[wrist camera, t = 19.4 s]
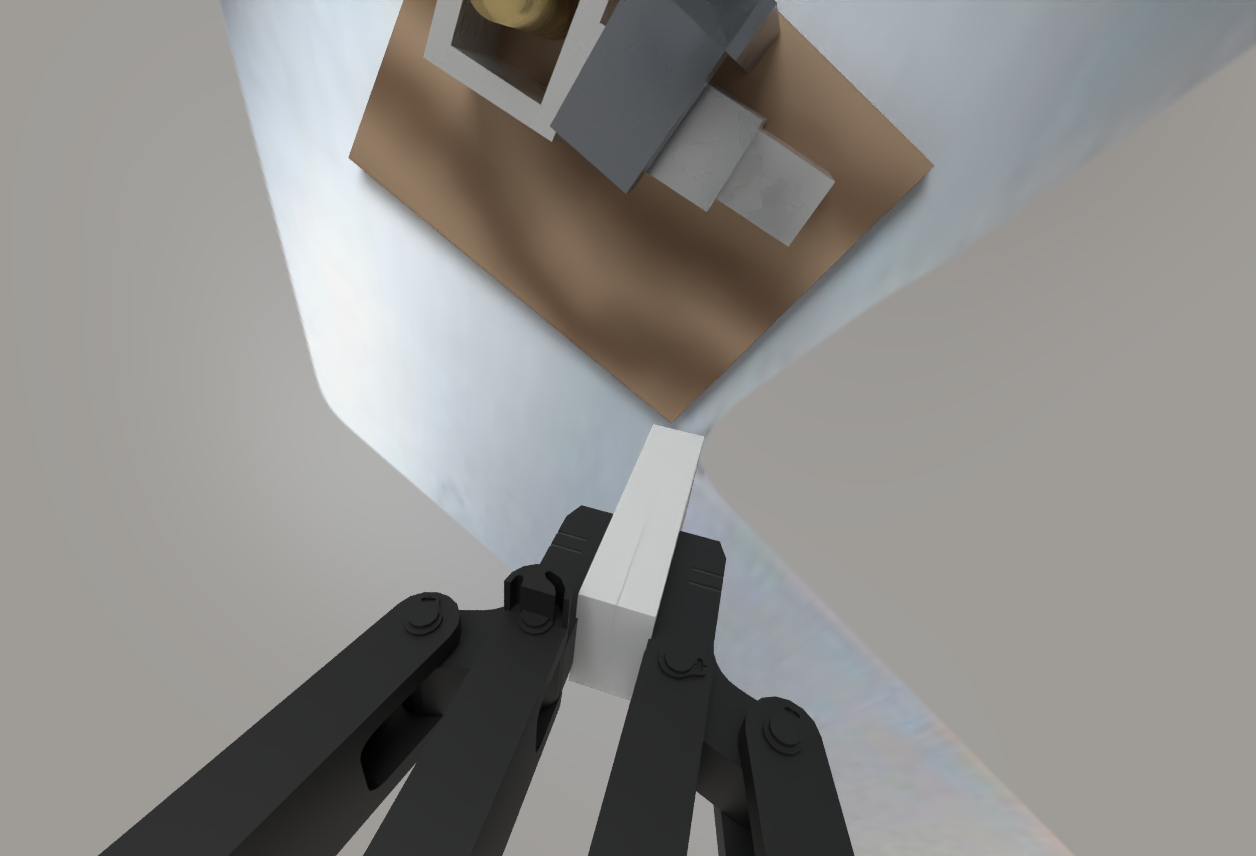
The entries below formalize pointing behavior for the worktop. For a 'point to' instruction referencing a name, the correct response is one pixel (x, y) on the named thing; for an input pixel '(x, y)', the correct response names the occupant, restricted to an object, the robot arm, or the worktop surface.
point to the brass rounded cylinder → (531, 15)
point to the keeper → (656, 76)
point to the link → (692, 157)
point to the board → (629, 206)
